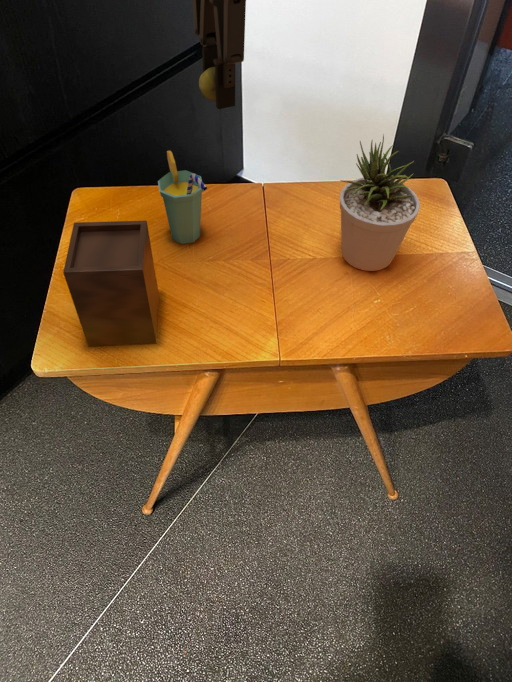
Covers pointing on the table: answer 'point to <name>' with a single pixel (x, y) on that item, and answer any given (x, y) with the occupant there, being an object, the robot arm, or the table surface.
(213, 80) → the lime
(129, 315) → the dark brown box
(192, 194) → the cup
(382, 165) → the potted plant
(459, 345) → the table surface
